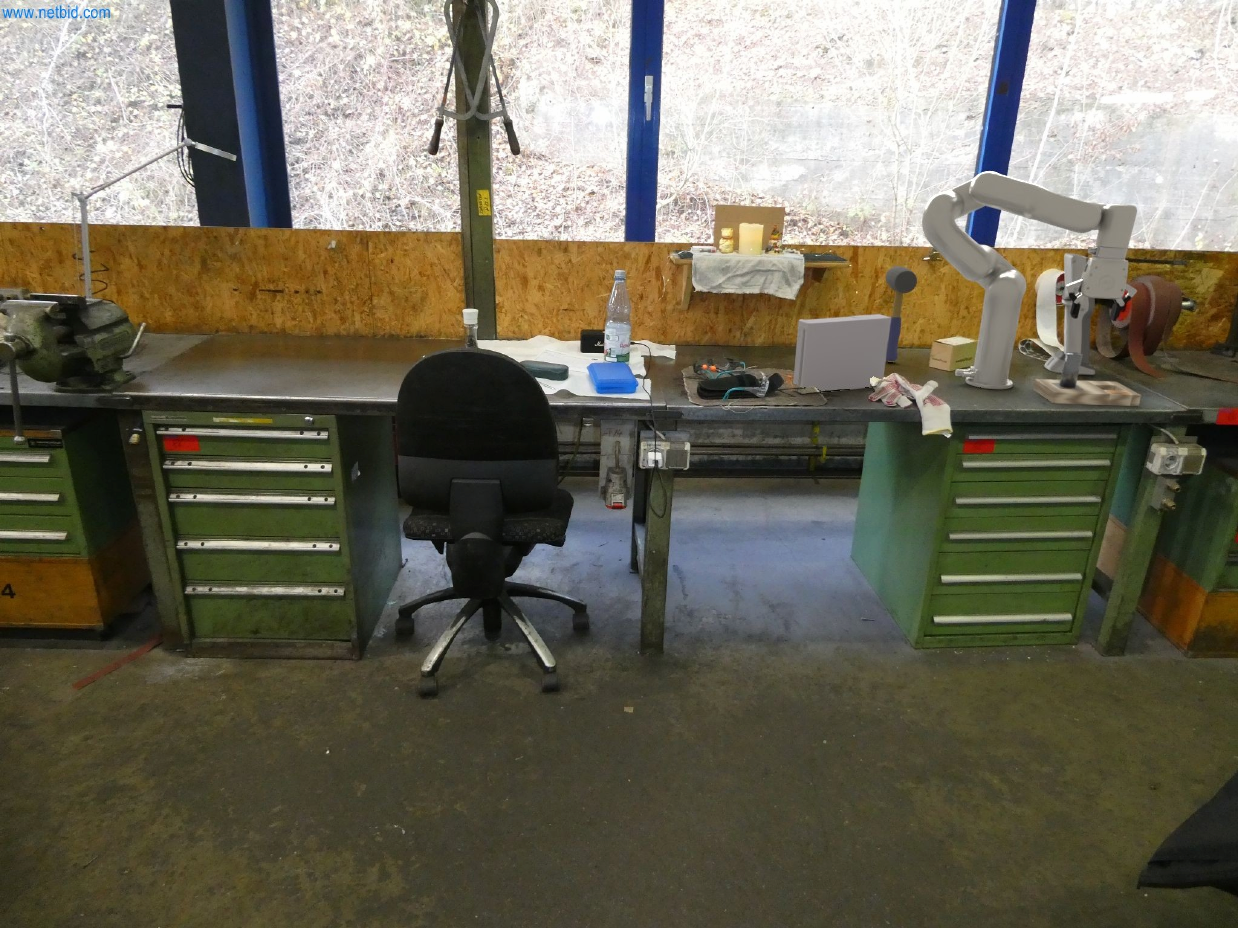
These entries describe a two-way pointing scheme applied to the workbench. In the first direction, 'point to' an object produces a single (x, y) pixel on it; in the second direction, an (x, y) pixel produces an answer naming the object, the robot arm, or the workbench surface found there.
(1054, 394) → the fixture board
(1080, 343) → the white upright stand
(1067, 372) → the peg
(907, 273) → the rubber mallet
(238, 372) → the workbench surface
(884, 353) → the game console
